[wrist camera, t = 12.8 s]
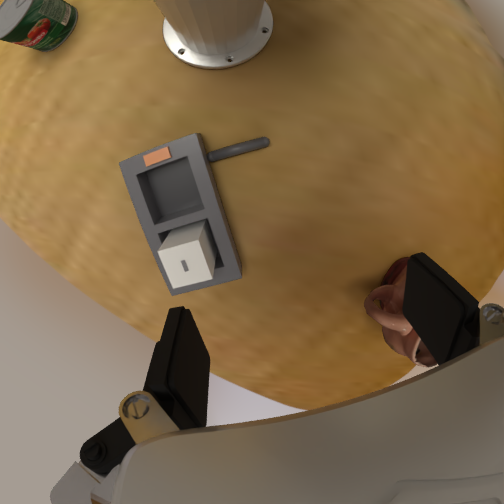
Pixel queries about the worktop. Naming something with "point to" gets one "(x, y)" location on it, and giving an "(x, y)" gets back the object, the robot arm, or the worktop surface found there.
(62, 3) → the canned tomato
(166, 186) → the power strip
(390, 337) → the decorative planter
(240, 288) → the worktop surface
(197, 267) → the block
